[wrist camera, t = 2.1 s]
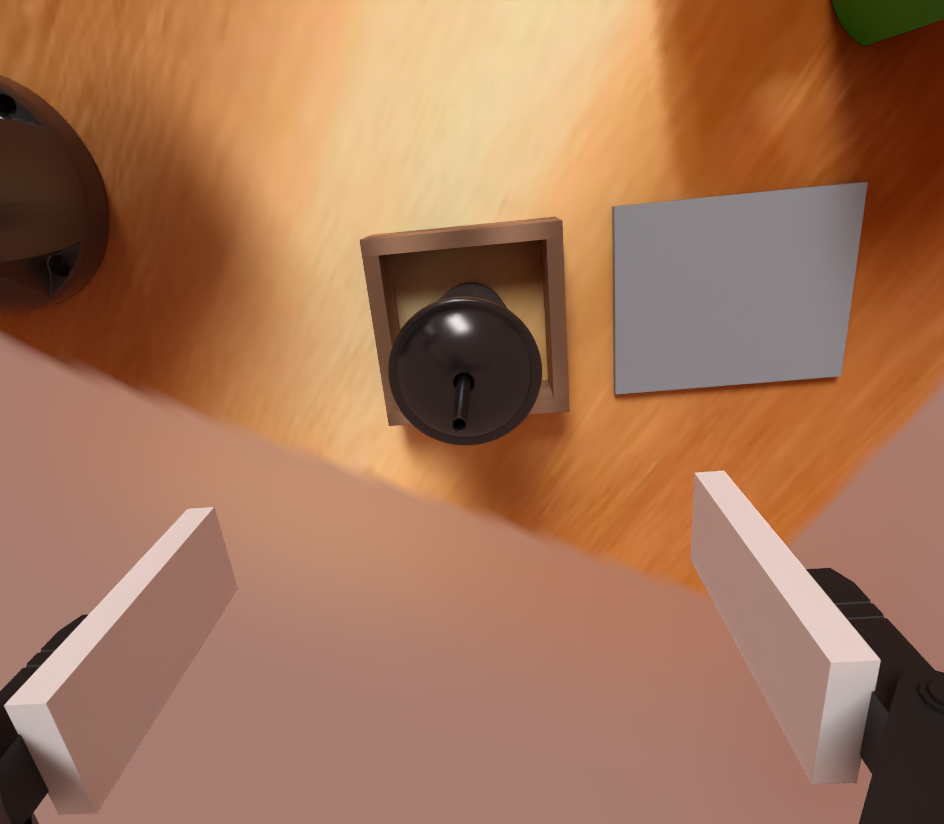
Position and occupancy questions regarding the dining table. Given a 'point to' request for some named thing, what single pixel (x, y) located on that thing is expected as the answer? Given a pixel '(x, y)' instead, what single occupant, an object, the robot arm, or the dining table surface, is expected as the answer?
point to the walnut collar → (544, 229)
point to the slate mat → (734, 287)
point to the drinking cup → (465, 368)
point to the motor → (885, 17)
